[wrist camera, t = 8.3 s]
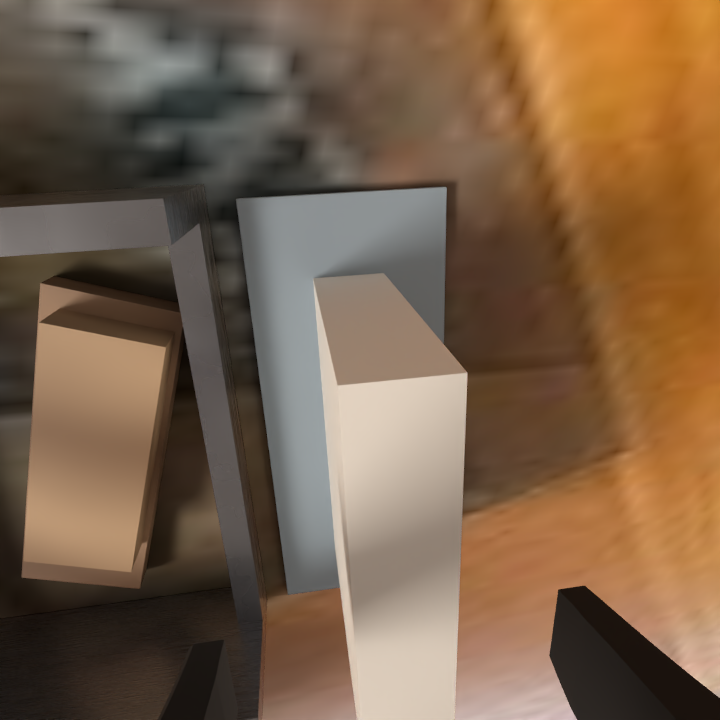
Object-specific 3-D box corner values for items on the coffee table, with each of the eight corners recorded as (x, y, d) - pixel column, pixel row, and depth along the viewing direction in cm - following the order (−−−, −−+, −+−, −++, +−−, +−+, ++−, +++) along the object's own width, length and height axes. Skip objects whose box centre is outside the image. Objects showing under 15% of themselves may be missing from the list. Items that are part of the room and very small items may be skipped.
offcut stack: (148, 562, 22) (129, 619, 20) (38, 550, 21) (1, 608, 19) (192, 302, 18) (175, 327, 16) (59, 272, 17) (17, 295, 15)
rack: (267, 599, 23) (261, 736, 18) (-39, 642, 22) (-147, 806, 16) (203, 183, 17) (162, 198, 11) (-245, 208, 15) (-549, 239, 10)
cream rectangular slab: (391, 541, 23) (452, 765, 14) (335, 549, 22) (364, 781, 14) (383, 273, 18) (467, 373, 10) (313, 278, 18) (337, 385, 10)
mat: (437, 566, 24) (439, 573, 24) (288, 587, 23) (288, 594, 23) (443, 186, 18) (446, 187, 17) (236, 198, 17) (235, 199, 16)
